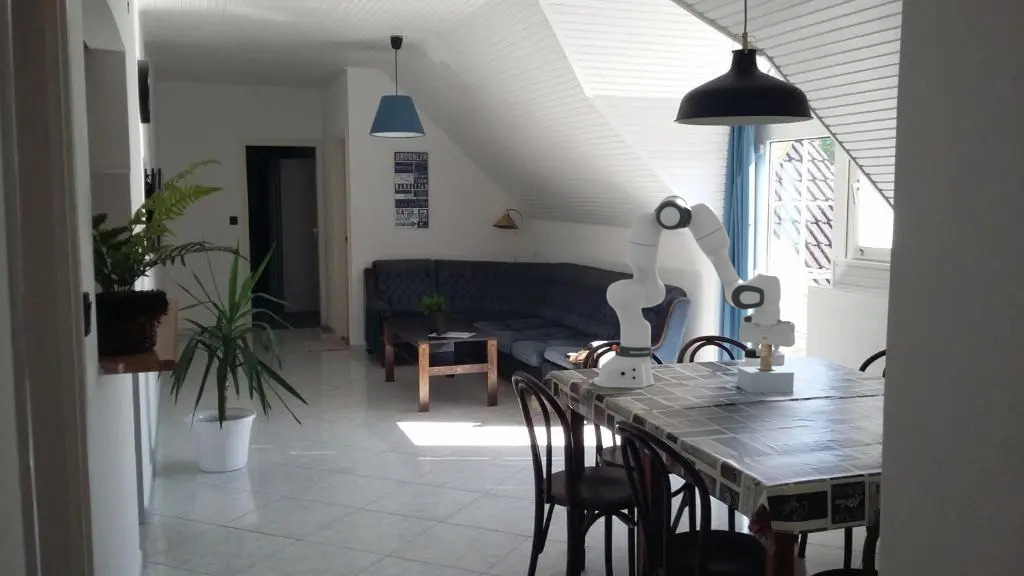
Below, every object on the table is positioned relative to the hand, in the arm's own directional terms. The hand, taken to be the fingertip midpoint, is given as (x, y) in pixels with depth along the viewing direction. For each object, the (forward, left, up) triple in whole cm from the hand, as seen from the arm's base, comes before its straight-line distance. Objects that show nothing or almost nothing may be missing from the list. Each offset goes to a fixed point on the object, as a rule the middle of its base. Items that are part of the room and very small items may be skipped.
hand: (766, 356), depth 318 cm
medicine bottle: (+2, +16, -12) cm, 20 cm away
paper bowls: (+14, +32, -12) cm, 37 cm away
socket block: (0, 0, -12) cm, 12 cm away
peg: (0, 0, -7) cm, 7 cm away
